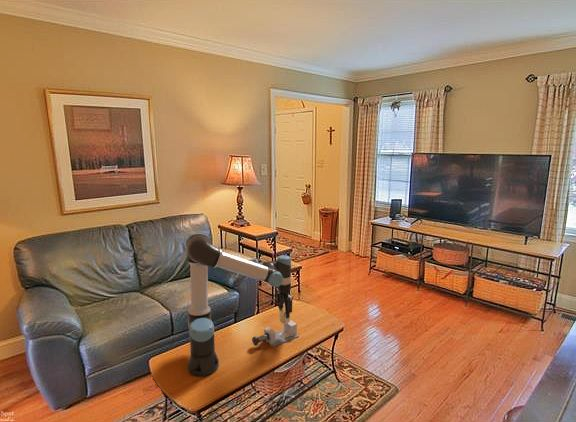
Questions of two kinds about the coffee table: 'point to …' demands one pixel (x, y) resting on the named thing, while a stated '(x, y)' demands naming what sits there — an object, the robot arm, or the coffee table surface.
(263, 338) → the shaft
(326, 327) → the coffee table surface
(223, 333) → the coffee table surface
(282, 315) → the spacer
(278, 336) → the grey bench vise
